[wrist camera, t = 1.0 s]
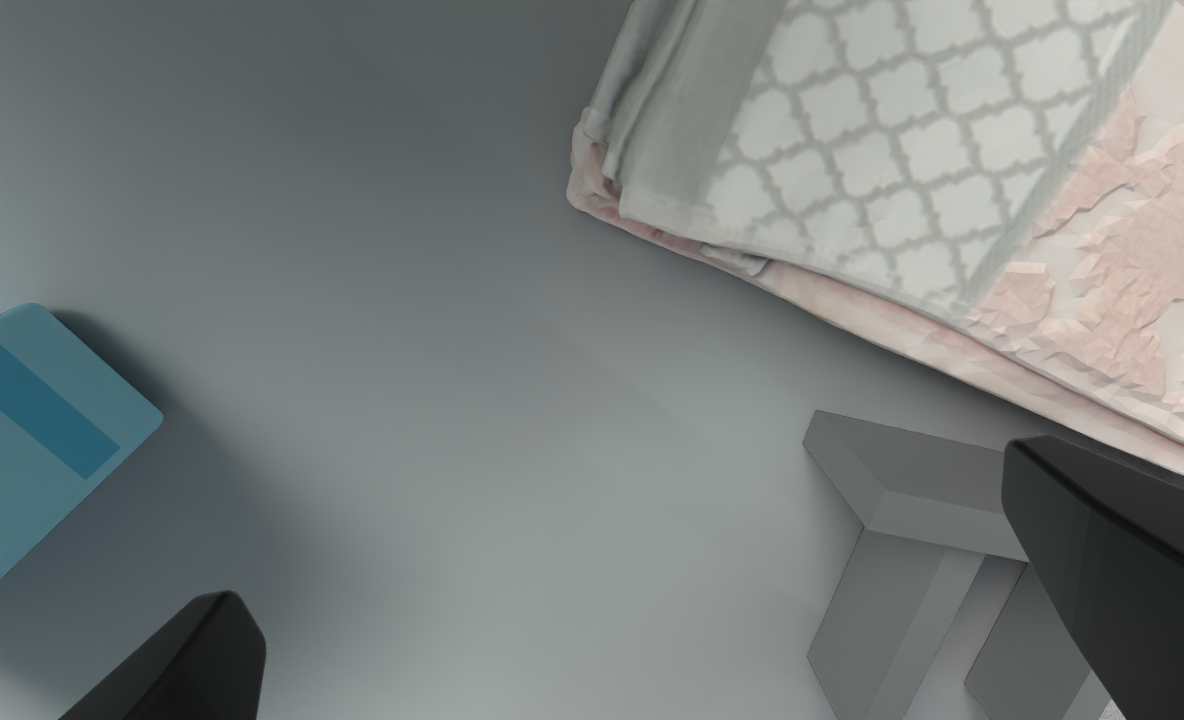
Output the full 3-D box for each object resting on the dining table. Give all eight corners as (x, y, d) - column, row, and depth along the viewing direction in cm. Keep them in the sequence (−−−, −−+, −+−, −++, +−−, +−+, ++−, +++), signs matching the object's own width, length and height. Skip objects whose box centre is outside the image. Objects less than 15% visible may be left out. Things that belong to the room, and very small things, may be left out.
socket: (1065, 700, 29) (1167, 818, 25) (723, 642, 27) (765, 760, 22) (1187, 494, 26) (1328, 583, 22) (815, 409, 24) (885, 490, 20)
